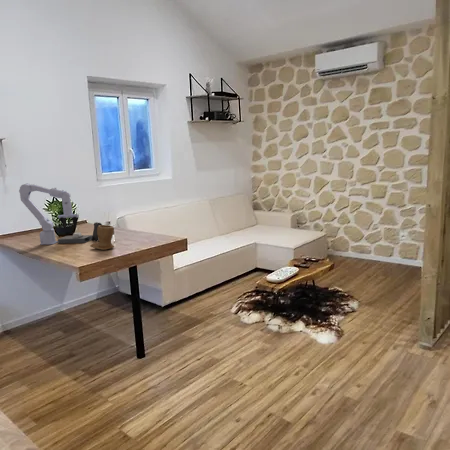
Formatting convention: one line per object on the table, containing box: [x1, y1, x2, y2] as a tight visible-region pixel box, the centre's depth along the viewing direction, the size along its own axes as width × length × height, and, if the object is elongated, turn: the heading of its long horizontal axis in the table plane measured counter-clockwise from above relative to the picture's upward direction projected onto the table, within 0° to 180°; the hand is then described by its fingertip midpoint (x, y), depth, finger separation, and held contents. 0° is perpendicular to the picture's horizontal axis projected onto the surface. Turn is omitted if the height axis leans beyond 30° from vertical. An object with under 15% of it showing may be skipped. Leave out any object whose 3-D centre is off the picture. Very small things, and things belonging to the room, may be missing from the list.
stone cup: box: [89, 224, 115, 251], centre depth 256 cm, size 15×12×15 cm
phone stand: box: [91, 221, 103, 242], centre depth 285 cm, size 9×6×12 cm, turn 134°
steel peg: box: [72, 231, 82, 238], centre depth 284 cm, size 4×4×6 cm
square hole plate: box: [57, 234, 93, 245], centre depth 285 cm, size 20×11×3 cm, turn 80°
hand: (70, 227), depth 286 cm, fingers open, 7 cm apart
